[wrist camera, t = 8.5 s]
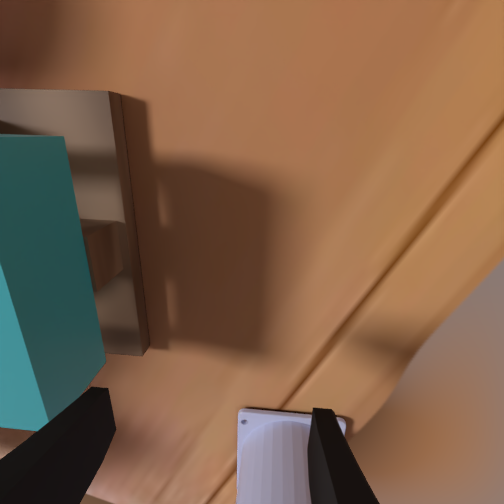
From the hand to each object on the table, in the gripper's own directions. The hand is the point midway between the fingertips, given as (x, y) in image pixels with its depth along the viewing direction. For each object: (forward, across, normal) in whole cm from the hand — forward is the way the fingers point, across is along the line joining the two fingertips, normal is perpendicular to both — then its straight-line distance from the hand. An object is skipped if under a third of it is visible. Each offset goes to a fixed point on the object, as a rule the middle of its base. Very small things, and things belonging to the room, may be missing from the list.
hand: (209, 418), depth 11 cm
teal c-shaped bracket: (+5, +12, -3) cm, 14 cm away
